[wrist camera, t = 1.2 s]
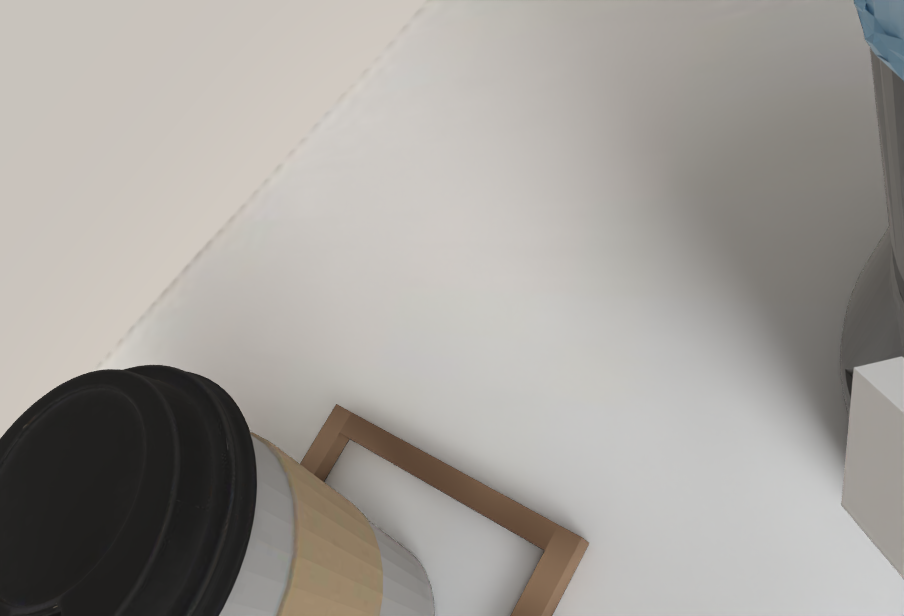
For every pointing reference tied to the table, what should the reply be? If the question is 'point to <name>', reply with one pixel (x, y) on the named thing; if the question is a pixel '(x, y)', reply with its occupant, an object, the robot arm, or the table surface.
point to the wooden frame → (555, 540)
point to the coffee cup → (179, 513)
